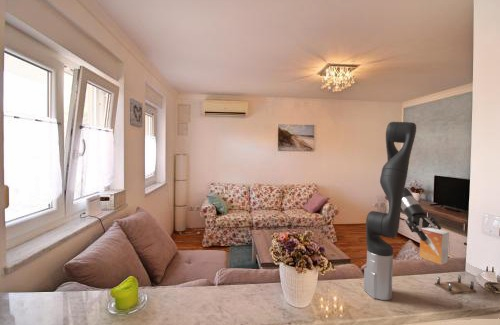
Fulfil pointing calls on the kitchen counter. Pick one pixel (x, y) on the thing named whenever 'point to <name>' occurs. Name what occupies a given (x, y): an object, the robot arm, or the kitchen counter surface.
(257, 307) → the kitchen counter surface
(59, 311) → the kitchen counter surface
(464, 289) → the pin plate
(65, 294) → the kitchen counter surface
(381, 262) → the robot arm
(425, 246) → the small box
